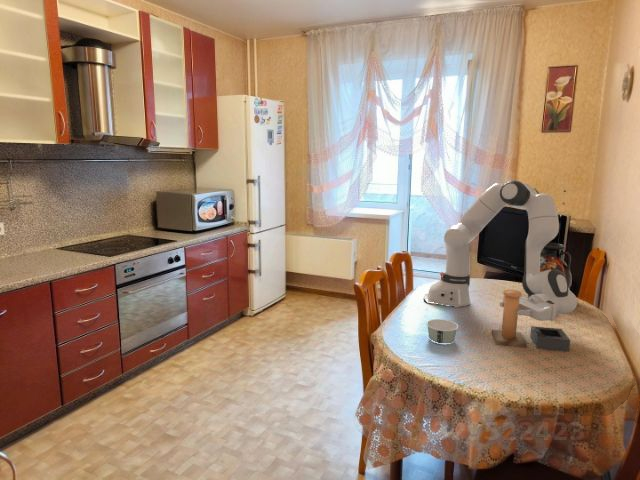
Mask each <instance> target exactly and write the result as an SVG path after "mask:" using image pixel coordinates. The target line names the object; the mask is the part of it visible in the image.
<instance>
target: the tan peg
mask: <svg viewBox="0 0 640 480" xmlns="http://www.w3.org/2000/svg"><path fill="white" fill-rule="evenodd" d="M503 295H504V296H505V299H504V307H503V313H502V324H501V331H502V332H501V336H502V337H504V338H507V339H515V338H516V332H517V327H518V316H519V315H518V314H517V310H518V308H519V298H520V297H521V296H522V295H523V293H522V291H519V290H516V289H504V290H503Z"/></svg>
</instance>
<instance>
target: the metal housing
mask: <svg viewBox="0 0 640 480" xmlns="http://www.w3.org/2000/svg"><path fill="white" fill-rule="evenodd" d="M529 333H530V334H529V338H530V339H531V341H532V344H533V345H534V346H535V348H536V349H540V350H549V351H559V352H560V351H561V352H570V346H571V339H570V338H569V336H568V335H567V334H566V333H565V331H564V330H563V329H562V328H555V327H544V326H543V327H542V326H530V332H529Z"/></svg>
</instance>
